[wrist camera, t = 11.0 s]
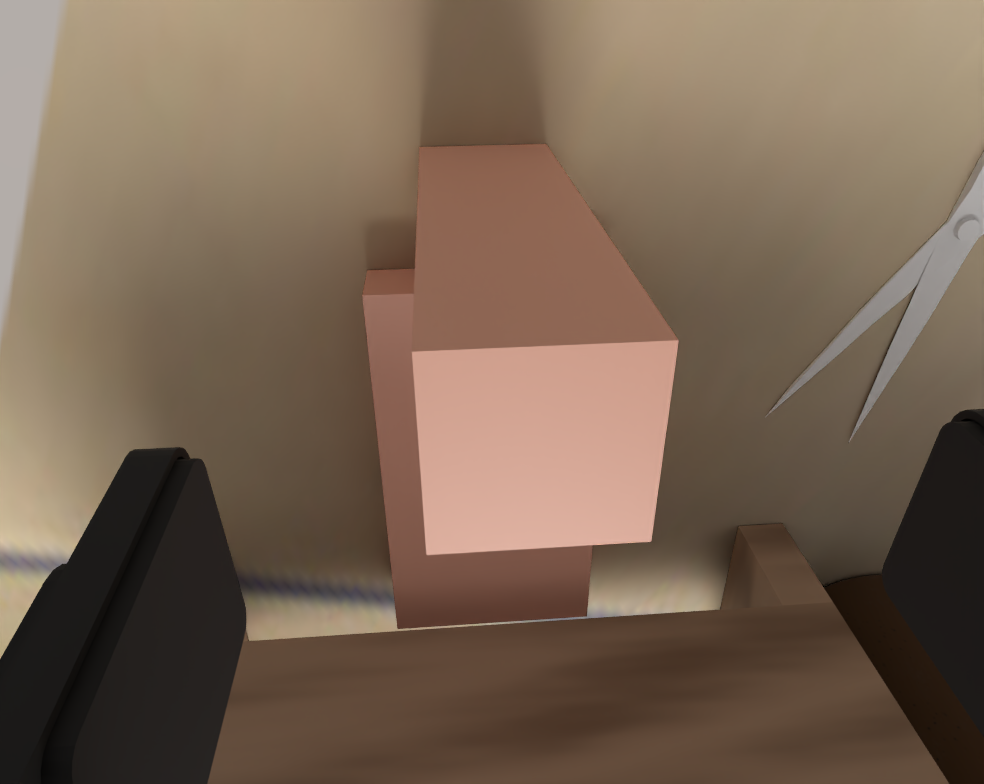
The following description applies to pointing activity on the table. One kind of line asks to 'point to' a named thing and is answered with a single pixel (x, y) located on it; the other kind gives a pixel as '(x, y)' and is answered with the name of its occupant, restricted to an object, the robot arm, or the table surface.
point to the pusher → (511, 392)
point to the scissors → (930, 270)
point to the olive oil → (911, 678)
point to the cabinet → (584, 697)
